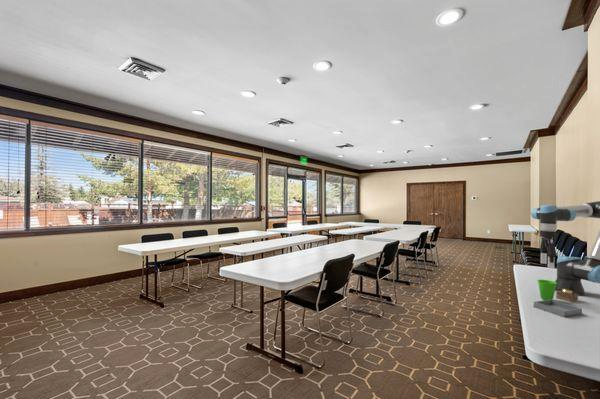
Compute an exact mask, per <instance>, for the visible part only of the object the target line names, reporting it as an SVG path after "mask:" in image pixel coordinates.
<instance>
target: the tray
mask: <svg viewBox="0 0 600 399" xmlns="http://www.w3.org/2000/svg"><path fill="white" fill-rule="evenodd" d="M533 308H535V309H537V310H541V311H543V312H547V313H550V314H553V315H556V316H559V317H562V318H567V317H574V316H579V315H581V316H582V315H583V308H581V307H578V306H575V305H570V304H568V303H564V302H561V301H558V300H557V301H556V300H554V299H553V300H538V301H537V300H536V301H533Z"/></svg>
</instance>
